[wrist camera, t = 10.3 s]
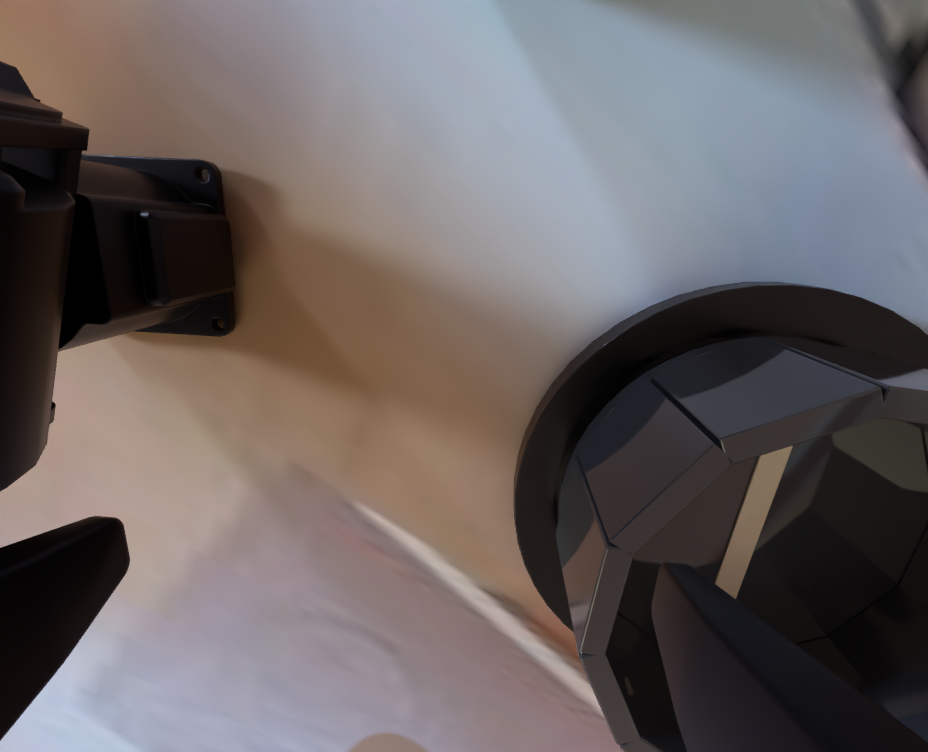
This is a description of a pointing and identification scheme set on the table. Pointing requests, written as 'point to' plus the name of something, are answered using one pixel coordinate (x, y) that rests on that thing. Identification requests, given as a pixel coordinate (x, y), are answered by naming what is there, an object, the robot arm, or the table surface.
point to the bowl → (755, 518)
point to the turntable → (652, 344)
